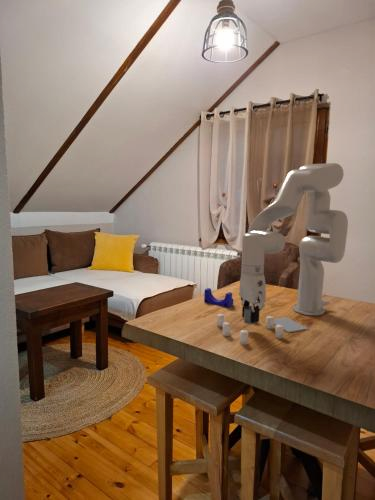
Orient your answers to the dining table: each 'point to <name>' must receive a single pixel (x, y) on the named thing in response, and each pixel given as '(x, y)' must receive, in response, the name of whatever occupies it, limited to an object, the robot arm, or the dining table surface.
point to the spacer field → (244, 332)
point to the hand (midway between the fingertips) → (250, 318)
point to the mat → (289, 325)
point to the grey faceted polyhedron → (248, 314)
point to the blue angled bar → (211, 299)
